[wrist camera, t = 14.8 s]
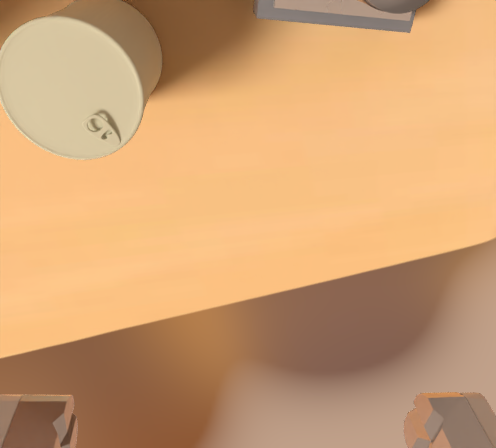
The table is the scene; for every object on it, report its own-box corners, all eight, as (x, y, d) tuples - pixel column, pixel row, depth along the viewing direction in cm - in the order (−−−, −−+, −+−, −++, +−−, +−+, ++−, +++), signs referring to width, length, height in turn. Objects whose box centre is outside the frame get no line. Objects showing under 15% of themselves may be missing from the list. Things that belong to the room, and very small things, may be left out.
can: (107, 128, 42) (73, 188, 32) (27, 43, 38) (-43, 81, 27) (184, 67, 39) (174, 110, 29) (107, -32, 35) (64, -21, 25)
